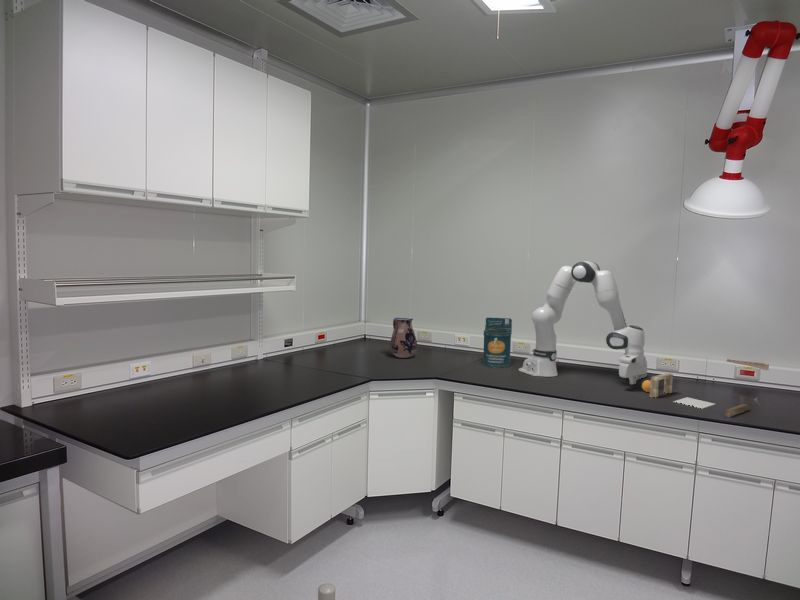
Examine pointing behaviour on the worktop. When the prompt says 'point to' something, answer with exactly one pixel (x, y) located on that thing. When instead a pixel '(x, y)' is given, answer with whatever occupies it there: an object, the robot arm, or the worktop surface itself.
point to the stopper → (736, 410)
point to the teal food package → (497, 342)
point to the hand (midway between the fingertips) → (632, 383)
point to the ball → (646, 385)
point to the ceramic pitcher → (403, 338)
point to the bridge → (655, 383)
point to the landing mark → (694, 402)
